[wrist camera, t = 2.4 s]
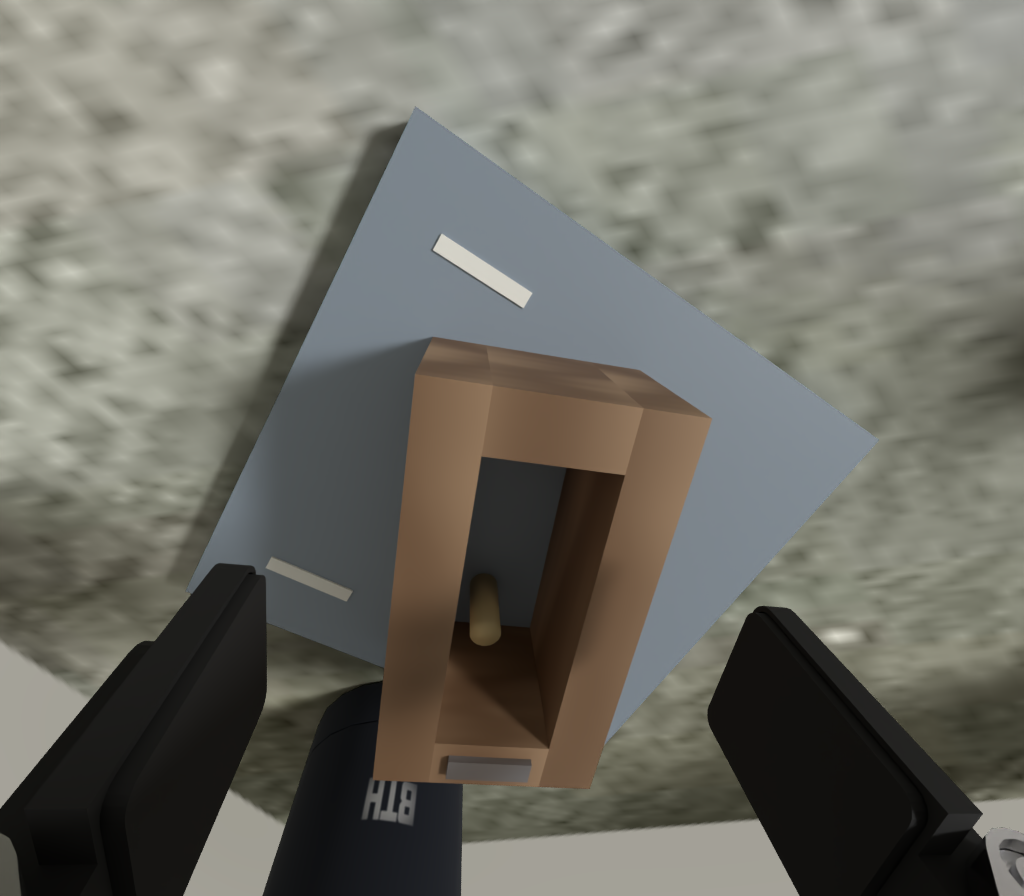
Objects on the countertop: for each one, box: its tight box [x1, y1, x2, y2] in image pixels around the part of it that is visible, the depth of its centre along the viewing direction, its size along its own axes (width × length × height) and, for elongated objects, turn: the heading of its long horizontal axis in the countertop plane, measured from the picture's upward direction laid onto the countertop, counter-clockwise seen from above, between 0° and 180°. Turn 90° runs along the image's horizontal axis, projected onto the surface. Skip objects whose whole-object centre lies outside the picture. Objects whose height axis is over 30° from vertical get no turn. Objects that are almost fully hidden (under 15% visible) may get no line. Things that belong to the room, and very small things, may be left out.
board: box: [186, 106, 879, 745], centre depth 16 cm, size 18×17×4 cm
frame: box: [373, 337, 712, 789], centre depth 15 cm, size 6×12×5 cm, turn 170°
